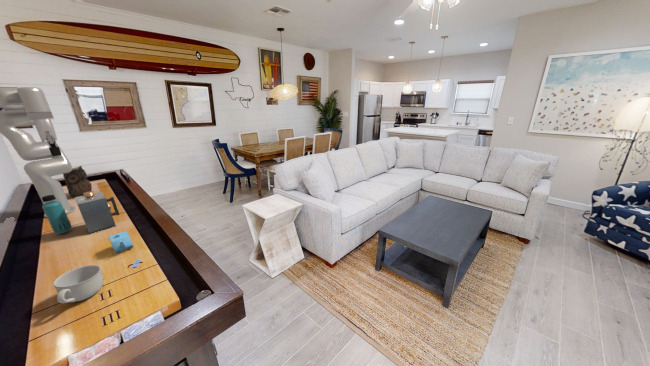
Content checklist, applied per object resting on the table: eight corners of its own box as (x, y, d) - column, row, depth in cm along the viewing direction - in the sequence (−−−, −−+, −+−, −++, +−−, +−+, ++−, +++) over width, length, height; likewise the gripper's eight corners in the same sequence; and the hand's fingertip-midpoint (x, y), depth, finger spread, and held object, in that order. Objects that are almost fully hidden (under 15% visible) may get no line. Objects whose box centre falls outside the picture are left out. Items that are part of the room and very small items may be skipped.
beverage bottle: (61, 237, 113) (43, 199, 107) (51, 235, 115) (33, 198, 108) (77, 230, 119) (61, 193, 113) (67, 229, 121) (51, 192, 114)
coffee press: (87, 227, 121) (74, 197, 116) (119, 218, 131) (109, 189, 125) (89, 234, 115) (76, 202, 110) (123, 223, 125) (113, 194, 119)
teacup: (83, 283, 83) (74, 264, 81) (115, 280, 84) (108, 262, 82) (42, 317, 70) (30, 296, 68) (81, 314, 71) (70, 293, 68)
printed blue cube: (135, 252, 101) (130, 236, 98) (117, 259, 96) (111, 243, 94) (129, 241, 108) (124, 227, 106) (112, 247, 104) (107, 232, 101)
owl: (94, 190, 174) (84, 164, 167) (94, 195, 166) (84, 167, 159) (69, 195, 166) (58, 168, 159) (69, 200, 157) (56, 172, 151)
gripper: (28, 116, 110) (45, 155, 116) (27, 117, 101) (45, 159, 107) (52, 115, 115) (67, 152, 121) (53, 116, 106) (69, 156, 112)
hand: (57, 155), depth 114 cm, fingers closed
